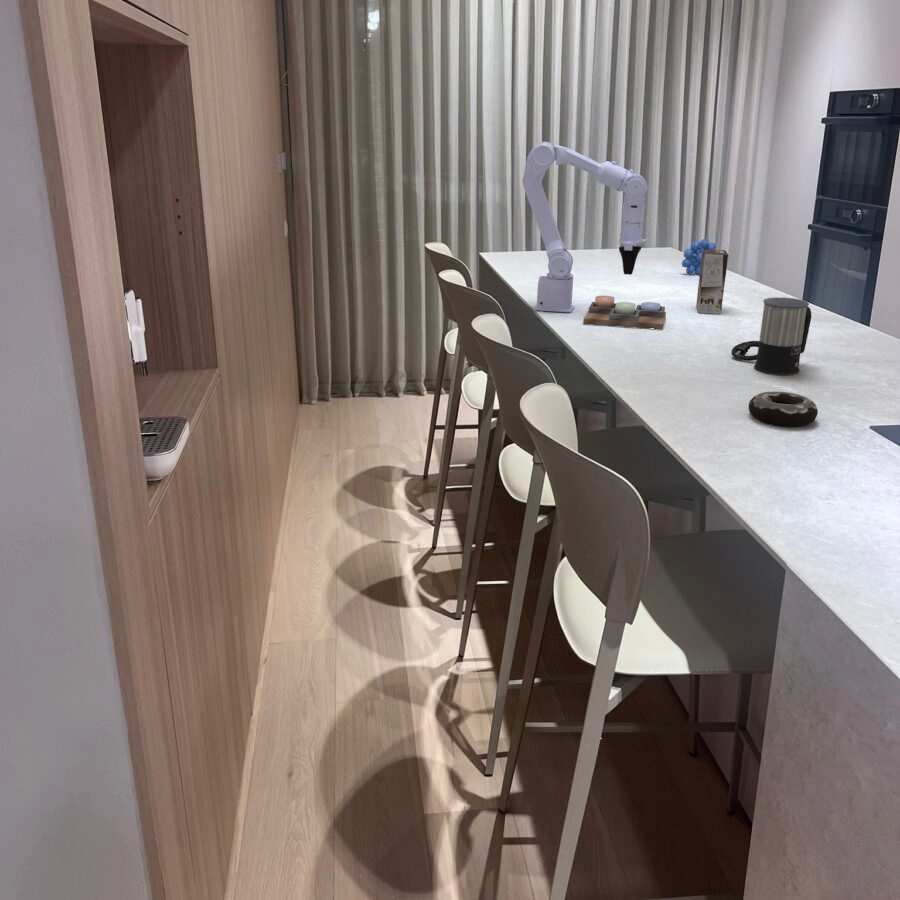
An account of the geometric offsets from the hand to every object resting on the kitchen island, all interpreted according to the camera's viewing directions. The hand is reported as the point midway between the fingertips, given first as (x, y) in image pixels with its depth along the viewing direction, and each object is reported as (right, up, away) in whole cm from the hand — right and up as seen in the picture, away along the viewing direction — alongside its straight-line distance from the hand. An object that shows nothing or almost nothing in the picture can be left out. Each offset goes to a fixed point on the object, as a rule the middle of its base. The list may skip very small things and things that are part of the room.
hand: (628, 274), depth 239 cm
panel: (-2, -13, -6) cm, 15 cm away
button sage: (-3, -12, -10) cm, 16 cm away
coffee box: (+24, -9, +8) cm, 26 cm away
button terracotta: (-7, -9, -2) cm, 12 cm away
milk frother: (+21, -29, -45) cm, 57 cm away
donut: (+12, -42, -78) cm, 90 cm away
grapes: (+36, +12, +62) cm, 72 cm away
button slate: (+5, -11, -5) cm, 13 cm away
